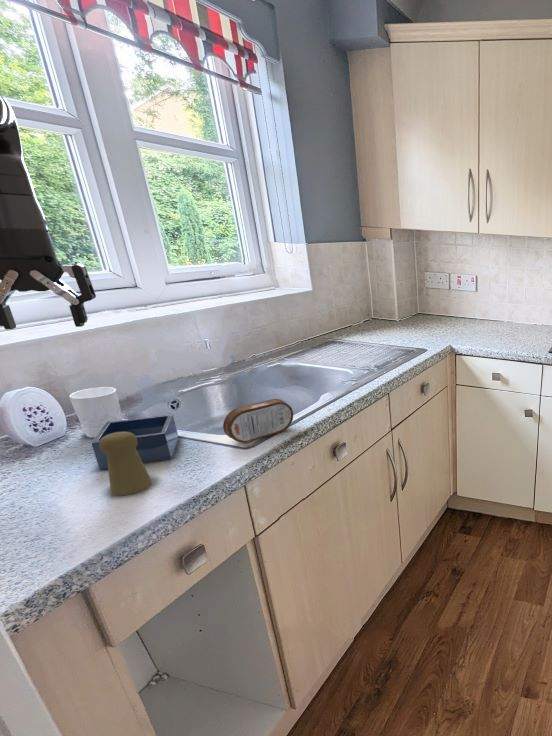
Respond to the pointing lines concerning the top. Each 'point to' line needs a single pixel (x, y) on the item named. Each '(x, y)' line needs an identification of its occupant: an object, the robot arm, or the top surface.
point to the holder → (142, 438)
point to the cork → (124, 464)
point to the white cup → (96, 408)
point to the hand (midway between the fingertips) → (46, 327)
